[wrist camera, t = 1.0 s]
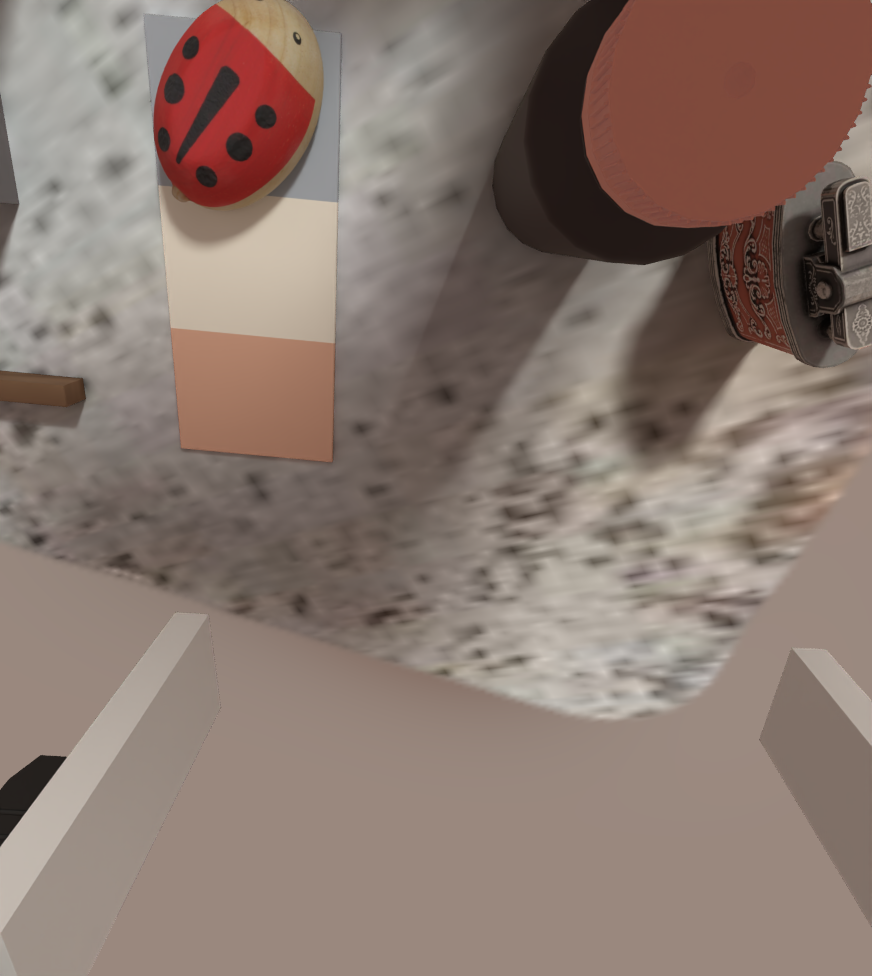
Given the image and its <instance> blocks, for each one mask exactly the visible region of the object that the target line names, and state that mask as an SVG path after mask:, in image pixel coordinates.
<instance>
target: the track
mask: <svg viewBox="0 0 872 976" xmlns="http://www.w3.org/2000/svg"><path fill="white" fill-rule="evenodd" d="M195 20H196V19H195V18H185V17H175V16H165V15H155V14H145V13H144V25H145V36H146V48H147V60H148V71H149V83H150V94H151V106H152V117H153V115H154V104H155V98H156V93H157V89H158V85H159V82H160V79H161V76H162V73H163V71H164V68H165V66H166V64H167V61H168V59H169V57H170V55H171V53H172V51H173V49H174V48H175V46H176V45H177V43H178V41H179V40H180V38H181V37H182V36H183V34H184V33H185V32H186V30H187V29H188V28H189V27H190V25H191V24H192V23H193V22H194V21H195ZM313 32H314V34H315V36H316V39H317V42H318V44H319V48H320V52H321V57H322V63H323V71H324V89H323V99H322V105H321V110H320V114H319V118H318V122H317V125H316V128H315V131H314V133H313V136H312V138H311V140H310V142H309V145H308V147H307V149H306V150H305V152H304V154H303V155H302V157H301V159H300V160H299V162H298V163H297V165H296V166H295V167H294V169H293V170H292V171H291V173H290V174H289V175H288V176H287V177H286V178H285V179H284V180H283V181H282V182H281V183H280V184H279V185H278V186H277V187H276V188H275V189H274V190H273V191H272V192H270V193H269V194H268V195H266V196H265V197H263V198H262V199H260V200H258V201H257V202H255V203H253V204H251V205H248V206H246V207H243V208H239V209H234V210H226V211H220V210H211V209H207V208H204V207H202V206H199V205H197V204H195V203H194V202H192V201H187V202H180V201H179V200H177V199H176V198H175V197H174V196H173V195H172V182H171V181H170V179H169V178H168V177H167V175H166V173H165V172H164V169H163V167H162V165H161V163H160V160H159V157H158V154H157V150H156V146H155V152H156V164H157V175H158V187H159V198H160V210H161V222H162V233H163V245H164V256H165V268H166V279H167V291H168V302H169V314H170V326H171V337H172V349H173V360H174V372H175V383H176V395H177V407H178V418H179V430H180V441H181V448H185V449H196V450H207V451H217V452H228V453H239V454H249V455H260V456H271V457H281V458H292V459H303V460H313V461H324V462H332V461H333V430H334V382H335V334H336V287H337V239H338V191H339V143H340V96H341V48H342V34H341V33H337V32H327V31H317V30H313ZM153 129H154V123H153ZM154 141H155V140H154Z"/></svg>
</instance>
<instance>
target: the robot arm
mask: <svg viewBox="0 0 872 976" xmlns="http://www.w3.org/2000/svg"><path fill="white" fill-rule="evenodd" d="M220 709H221V704H220V697H219V689H218V681H217V673H216V666H215V659H214V651H213V642H212V635H211V628H210V619H209V614H198V613H180V612H175V613H174V615H173V616H172V617H171V619H170V620H169V621H168V623H167V624H166V626H165V627H164V628H163V629H162V631H161V632H160V633H159V635H158V636H157V638H156V639H155V640H154V641H153V643H152V644H151V645H150V647H149V648H148V649H147V651H146V652H145V654H144V655H143V656H142V658H141V659H140V660H139V662H138V663H137V664H136V666H135V667H134V668H133V670H132V671H131V672H130V674H129V675H128V676H127V678H126V679H125V680H124V682H123V683H122V684H121V686H120V687H119V688H118V690H117V691H116V692H115V694H114V695H113V696H112V698H111V699H110V700H109V702H108V703H107V705H106V706H105V707H104V709H103V710H102V711H101V713H100V714H99V715H98V717H97V718H96V719H95V721H94V722H93V723H92V725H91V726H90V727H89V729H88V730H87V731H86V733H85V734H84V735H83V737H82V738H81V739H80V741H79V742H78V743H77V745H76V746H75V747H74V749H73V750H72V751H71V753H70V754H69V755H68V757H61V756H45V755H40V756H39V757H38V758H36V759H35V760H34V761H32V762H31V763H30V764H29V765H27V766H26V767H25V768H23V769H22V770H20V771H19V772H18V773H17V774H15V775H14V776H13V777H11V778H10V779H9V780H8V781H7V782H6V784H5V785H4V786H3V787H2V788H1V790H0V976H88V973H89V972H90V970H91V967H92V965H93V964H94V962H95V960H96V958H97V956H98V953H99V952H100V949H101V947H102V946H103V943H104V942H105V940H106V938H107V936H108V933H109V931H110V930H111V927H112V925H113V923H114V921H115V919H116V917H117V915H118V913H119V911H120V909H121V907H122V905H123V903H124V901H125V899H126V897H127V895H128V893H129V891H130V889H131V887H132V885H133V883H134V881H135V879H136V877H137V875H138V873H139V871H140V869H141V867H142V865H143V863H144V861H145V859H146V857H147V855H148V853H149V851H150V849H151V847H152V845H153V843H154V841H155V839H156V837H157V835H158V833H159V831H160V829H161V827H162V825H163V823H164V821H165V819H166V817H167V815H168V813H169V811H170V809H171V807H172V805H173V803H174V801H175V799H176V797H177V795H178V793H179V791H180V789H181V787H182V784H183V783H184V781H185V779H186V777H187V775H188V773H189V770H190V769H191V767H192V765H193V763H194V761H195V758H196V757H197V755H198V753H199V751H200V749H201V747H202V745H203V743H204V741H205V738H206V737H207V735H208V733H209V731H210V729H211V727H212V725H213V723H214V721H215V719H216V717H217V715H218V713H219V711H220ZM759 740H760V742H761V743H762V745H763V747H764V748H765V750H766V752H767V753H768V755H769V757H770V758H771V760H772V762H773V763H774V765H775V767H776V768H777V770H778V772H779V773H780V775H781V777H782V778H783V780H784V782H785V783H786V785H787V787H788V788H789V790H790V792H791V793H792V795H793V797H794V798H795V800H796V802H797V803H798V805H799V807H800V808H801V810H802V812H803V813H804V815H805V817H806V818H807V820H808V822H809V823H810V825H811V827H812V828H813V830H814V832H815V833H816V835H817V837H818V838H819V840H820V842H821V843H822V845H823V847H824V849H825V850H826V852H827V853H828V855H829V857H830V859H831V860H832V862H833V864H834V865H835V867H836V869H837V870H838V872H839V874H840V875H841V877H842V879H843V880H844V882H845V883H846V885H847V887H848V889H849V890H850V892H851V893H852V895H853V897H854V899H855V900H856V902H857V904H858V905H859V907H860V909H861V910H862V912H863V913H864V915H865V917H866V919H867V920H868V922H869V923H870V925H871V927H872V701H871V699H870V698H869V697H868V696H867V695H866V694H865V693H864V692H863V691H862V689H861V688H860V687H859V686H858V685H857V684H856V683H855V682H854V680H853V679H852V678H851V677H850V676H849V675H848V674H847V673H846V671H845V670H844V669H843V668H842V667H841V666H840V665H839V663H838V662H837V661H836V660H835V659H834V658H833V657H832V656H831V655H830V653H829V652H828V651H827V650H826V649H809V648H791V651H790V653H789V656H788V659H787V662H786V665H785V668H784V671H783V673H782V676H781V679H780V682H779V685H778V688H777V690H776V693H775V696H774V699H773V702H772V705H771V708H770V710H769V713H768V716H767V719H766V722H765V725H764V728H763V730H762V733H761V736H760V739H759Z"/></svg>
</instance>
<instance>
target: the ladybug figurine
mask: <svg viewBox="0 0 872 976" xmlns="http://www.w3.org/2000/svg"><path fill="white" fill-rule="evenodd" d="M323 89H324V71H323V63H322V57H321V52H320V48H319V44H318V42H317V39H316V36H315V34H314V32H313V30H312V28H311V26H310V25H309V23H308V21H307V20H306V19H305V18H304V16H303V15H302V14H301V13H300V12H299V11H298V10H297V9H296V8H295V7H294V6H292V5H291V4H290V3H288V2H287V1H285V0H222V1H220V2H218V3H217V4H215V5H213V6H212V7H210V8H209V9H207V10H206V11H205V12H203V13H202V14H201V15H200V16H199V17H198V18H197V19H196V20H195V21H194V22H193V23H192V24H191V25H190V27H189V28H188V29H187V30H186V32H185V33H184V34H183V36H182V37H181V38H180V40H179V41H178V43H177V45H176V46H175V48H174V49H173V51H172V53H171V55H170V57H169V59H168V61H167V64H166V66H165V68H164V71H163V73H162V76H161V79H160V82H159V85H158V89H157V93H156V98H155V104H154V115H153V123H154V140H155V146H156V150H157V154H158V157H159V160H160V163H161V165H162V167H163V169H164V172H165V173H166V175H167V177H168V178H169V179H170V181H171V182H172V195H173V196H174V197H175V198H176V199H177V200H179V201H180V202H187V201H192V202H194V203H195V204H197V205H199V206H202V207H204V208H207V209H211V210H220V211H226V210H234V209H239V208H243V207H246V206H248V205H251V204H253V203H255V202H257V201H258V200H260V199H262V198H263V197H265V196H266V195H268V194H269V193H270V192H272V191H273V190H274V189H275V188H276V187H277V186H278V185H279V184H280V183H281V182H282V181H283V180H284V179H285V178H286V177H287V176H288V175H289V174H290V173H291V171H292V170H293V169H294V167H295V166H296V165H297V163H298V162H299V160H300V159H301V157H302V155H303V154H304V152H305V150H306V149H307V147H308V145H309V142H310V140H311V138H312V136H313V133H314V131H315V128H316V125H317V122H318V118H319V114H320V110H321V105H322V99H323Z"/></svg>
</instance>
